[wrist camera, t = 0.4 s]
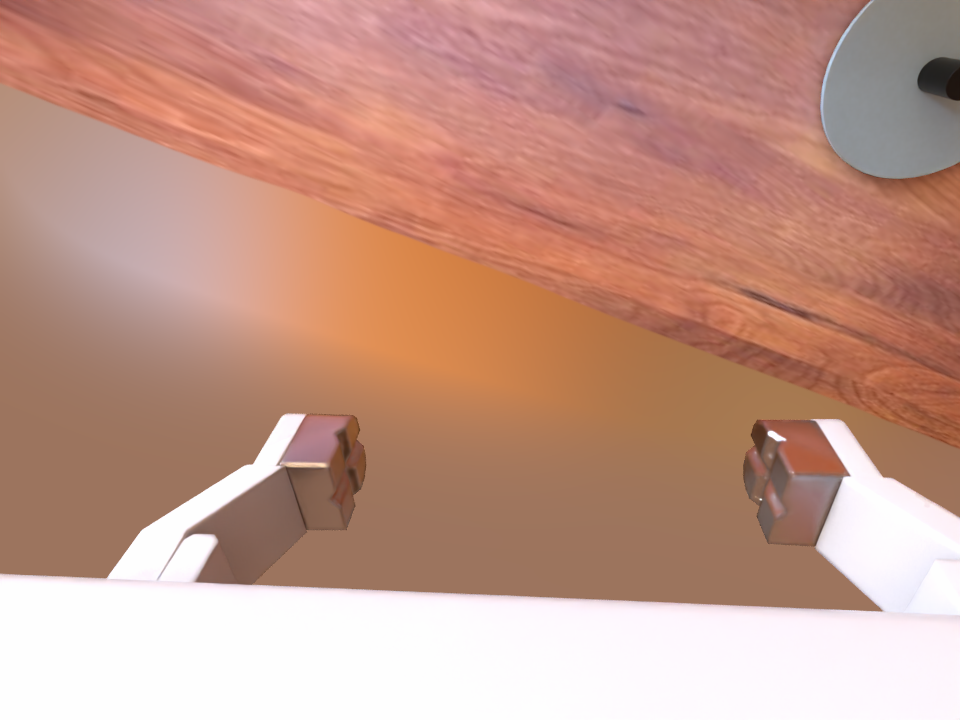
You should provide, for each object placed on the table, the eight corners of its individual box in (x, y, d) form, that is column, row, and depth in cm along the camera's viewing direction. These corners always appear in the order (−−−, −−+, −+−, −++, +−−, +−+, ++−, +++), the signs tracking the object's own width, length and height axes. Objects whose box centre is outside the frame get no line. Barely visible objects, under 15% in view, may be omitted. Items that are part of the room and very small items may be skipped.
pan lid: (848, -42, 43) (882, -45, 39) (1090, -60, 42) (1154, -65, 37) (796, 178, 52) (819, 196, 48) (993, 171, 51) (1035, 189, 46)
